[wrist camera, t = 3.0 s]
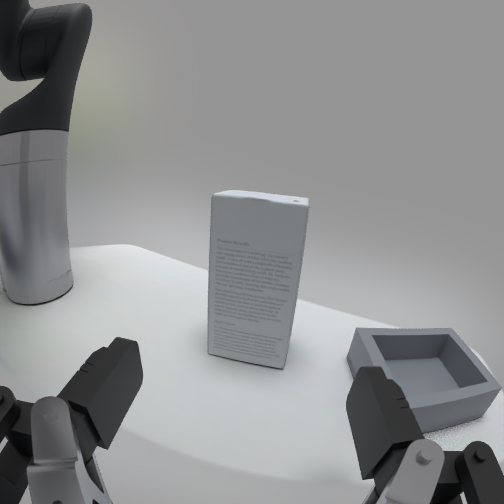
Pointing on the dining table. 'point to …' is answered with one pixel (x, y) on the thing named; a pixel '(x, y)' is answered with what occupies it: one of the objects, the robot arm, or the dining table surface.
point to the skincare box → (254, 274)
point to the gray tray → (428, 372)
